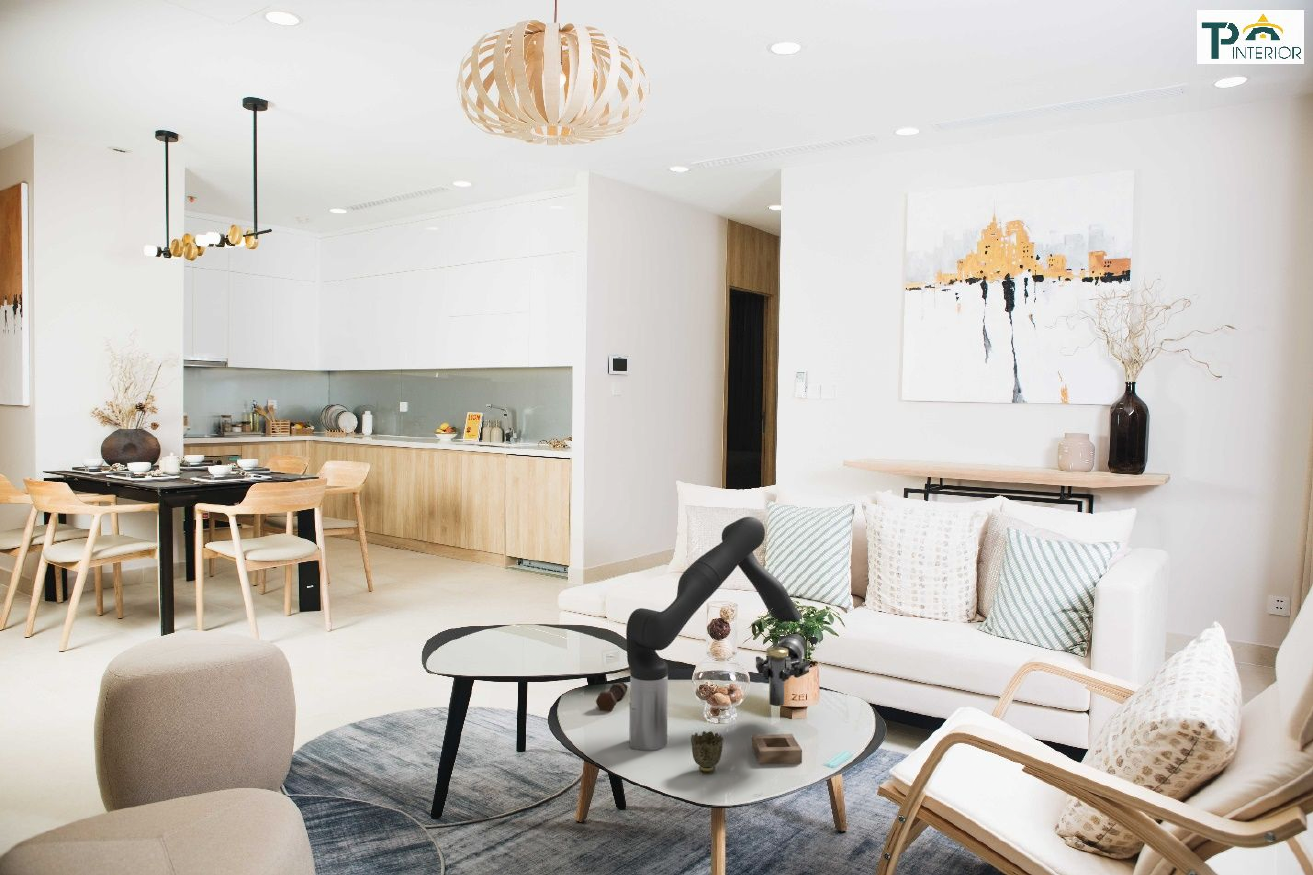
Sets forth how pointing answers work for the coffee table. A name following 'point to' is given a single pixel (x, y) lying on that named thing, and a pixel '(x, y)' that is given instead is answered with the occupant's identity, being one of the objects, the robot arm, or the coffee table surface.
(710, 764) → the cup
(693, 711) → the coffee table surface
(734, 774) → the coffee table surface
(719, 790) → the coffee table surface
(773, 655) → the pin
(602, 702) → the brown hex dumbbell
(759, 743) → the socket block
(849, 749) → the coffee table surface
